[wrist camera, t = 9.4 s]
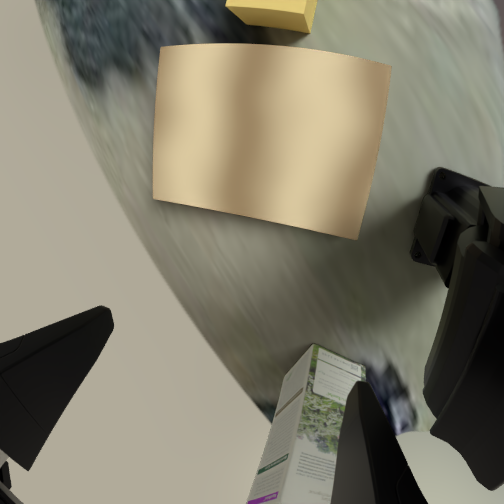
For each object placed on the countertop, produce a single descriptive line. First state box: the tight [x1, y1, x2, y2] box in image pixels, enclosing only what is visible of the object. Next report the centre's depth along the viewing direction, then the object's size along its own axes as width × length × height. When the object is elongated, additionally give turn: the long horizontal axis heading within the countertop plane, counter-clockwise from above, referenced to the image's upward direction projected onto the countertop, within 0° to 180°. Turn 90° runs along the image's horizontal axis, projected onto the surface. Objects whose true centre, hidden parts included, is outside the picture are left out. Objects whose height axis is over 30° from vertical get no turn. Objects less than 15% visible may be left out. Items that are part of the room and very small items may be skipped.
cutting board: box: [153, 43, 392, 240], centre depth 16 cm, size 13×10×2 cm
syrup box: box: [246, 344, 365, 504], centre depth 18 cm, size 6×6×14 cm
